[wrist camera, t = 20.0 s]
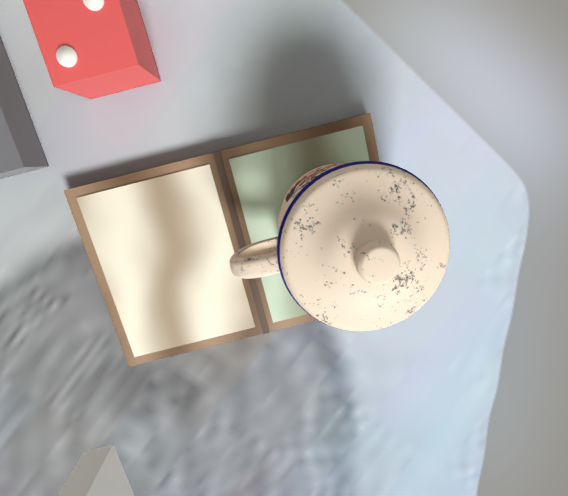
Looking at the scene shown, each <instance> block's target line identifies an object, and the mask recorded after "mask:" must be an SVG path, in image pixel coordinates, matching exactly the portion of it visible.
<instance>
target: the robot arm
mask: <svg viewBox="0 0 568 496" xmlns="http://www.w3.org/2000/svg"><path fill="white" fill-rule="evenodd" d="M57 496H134V494H133V491H132V489H131V486H130V484H129V481H128V479H127V476H126V474H125V472H124V469H123V467H122V464H121V462H120V459H119V457H118V455H117V452H116V450H115V447H114V445H113V444H112V445H108V446H104V447H100V448H96V449H93V450H89V451H85V452H83V454H82V456H81V457H80V459H79V461H78V462H77V464H76V466H75V467H74V469H73V471H72V472H71V474H70V476H69V477H68V479H67V480H66V482H65V484H64V485H63V487H62V489H61V490H60V492H59V494H58V495H57Z"/></svg>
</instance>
